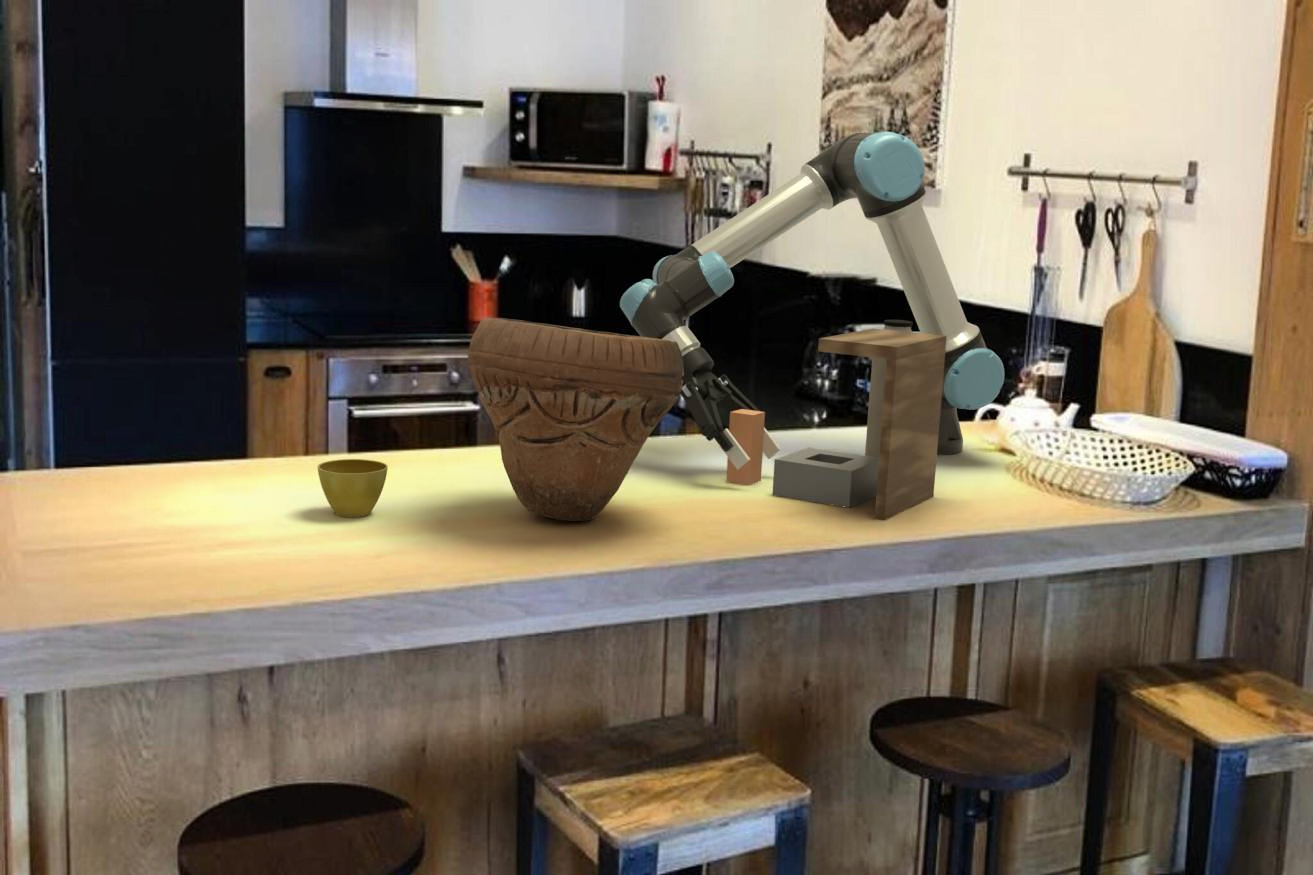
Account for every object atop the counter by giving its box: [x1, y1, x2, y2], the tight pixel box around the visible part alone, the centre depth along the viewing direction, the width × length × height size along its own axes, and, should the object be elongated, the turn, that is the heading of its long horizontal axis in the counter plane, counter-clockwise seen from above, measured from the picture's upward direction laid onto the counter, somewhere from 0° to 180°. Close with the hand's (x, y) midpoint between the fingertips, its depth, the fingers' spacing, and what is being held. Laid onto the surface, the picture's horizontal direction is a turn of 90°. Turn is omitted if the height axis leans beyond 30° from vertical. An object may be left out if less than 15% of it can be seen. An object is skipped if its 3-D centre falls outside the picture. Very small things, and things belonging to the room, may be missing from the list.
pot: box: [467, 316, 684, 522], centre depth 220 cm, size 32×32×30 cm
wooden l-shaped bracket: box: [817, 328, 947, 521], centre depth 239 cm, size 13×22×27 cm, turn 150°
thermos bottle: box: [864, 319, 914, 458], centre depth 258 cm, size 8×8×28 cm
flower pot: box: [317, 458, 389, 518], centre depth 217 cm, size 10×10×7 cm
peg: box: [725, 409, 766, 486], centre depth 252 cm, size 4×4×12 cm
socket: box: [771, 447, 879, 508], centre depth 245 cm, size 14×14×6 cm
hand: (759, 459), depth 251 cm, fingers open, 11 cm apart
